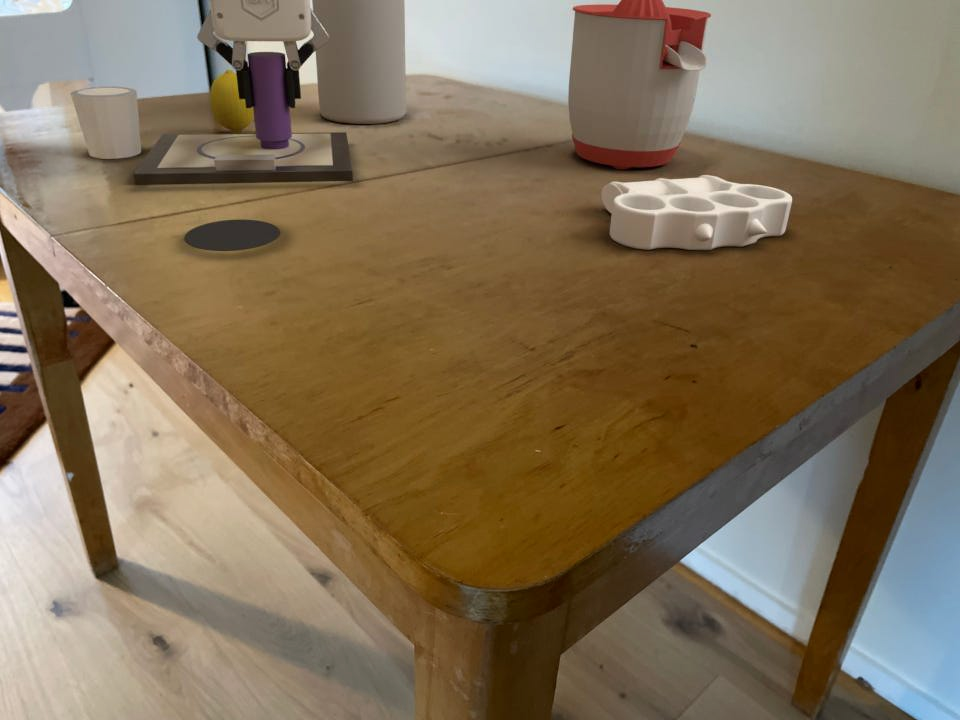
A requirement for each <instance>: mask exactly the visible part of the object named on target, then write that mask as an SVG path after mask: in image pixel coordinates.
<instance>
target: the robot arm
mask: <svg viewBox="0 0 960 720" xmlns="http://www.w3.org/2000/svg"><path fill="white" fill-rule="evenodd" d="M209 4H210V9H209V12H208V13H207V15H206V18H205V20H204V21H203V24H202V25H201V27H200V29H199V31H198V32H197V37H196V38H197V40H198V41H199V42H200V43H202V44H203V45H205V46H206V47H208V48H209V49H211V50H213V51H214V52H216V53H218V55H220V56H221V58H223V60H225V61H226V62H227V63H228V64H229V65H230V66H232V68H233V69H234V70H235V73H236V75H237V84H238V93H239V99H245V103H246V108H251V107H253V99H252V90H251V81H250V71H249V64H248V60H247V59H246V56H247V44H248V42H283V47H284V51H285V55H286V57H287V61H286V71H285V73H286V85H287V97H288V107H289V108H290V109H295V108H296V100H301V99H302V93H301V79H300V69H301V67H302V66H303V65H304V64H305V63H306V61H307V60H308V59H310V57H311V56H312V55H313V54H314V53H316V50H318V49H319V48H321V47H322V46H324V45H325V44H326V43H328V42H329V40H330V39H329V35H328V33H327V32H326V30H325V29H324V27H323V26H322V24H321V23H320V21H319V20H318V18H317V17H316V15H315V14H314V12H313V8H311V0H209ZM311 32H312V33H313V36H312V37H311V38H309V39H308V40H307V41H306V42H304V43H303V44H301V46H300V47H298V44H297V42H300V41H304V40H305V39H307V38H308V37H310V34H311ZM224 40H225V41H224ZM226 41H230V42H233V43H232V46H231V45H230V44H229V43H227V42H226Z"/></svg>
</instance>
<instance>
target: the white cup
mask: <svg viewBox="0 0 960 720" xmlns="http://www.w3.org/2000/svg"><path fill="white" fill-rule="evenodd" d="M70 96H71V100H72V103H73V106H74V110H75V113H76V116H77V120H78V123H79V126H80V129H81V132H82V136H83V139H84V142H85V146H86V149H87V152H88V155H89V156H90V157H91V158H95V159H103V160H118V159H126V158H132V157H135V156H138V155H139V154H141V153H142V142H141V132H140V131H141V129H140V117H139V105H138V104H139V103H138V92H137V90H136V89H134V88H131V87H130V88H129V87H123V86H94V87H85V88H79V89H75V90H73V91H71V92H70Z"/></svg>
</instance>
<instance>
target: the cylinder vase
mask: <svg viewBox="0 0 960 720" xmlns="http://www.w3.org/2000/svg"><path fill="white" fill-rule="evenodd" d="M311 3H312V4H311V5H312V11H313V12H314V14H315V15H316V17H317V18H318V20H319V21H320V23H321V24H322V26H323V27H324V29H325V30H326V32H327V33H328V35H329V39H330V40H329V42H328V43H326V44H325V45H324V46H322V47H321V48H319V49H318V50H316V51H315V65H316V77H317V93H318V109H319V113H320V115H321V116H322V117H323V118H324V119H326V120H328V121H332V122H335V123H341V124H350V125H378V124H379V125H380V124H385V123H391V122H392V123H393V122H396V121H398V120H401V119H402V118H404V117H405V115H406V113H407V85H406V84H407V83H406V82H407V81H406V80H407V79H406V78H407V77H406V76H407V75H406V26H405V25H406V17H405V16H406V12H405V11H406V9H405V7H406V6H405V0H311Z"/></svg>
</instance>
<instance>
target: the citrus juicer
mask: <svg viewBox="0 0 960 720" xmlns="http://www.w3.org/2000/svg"><path fill="white" fill-rule="evenodd" d="M572 11H574V16H573V17H574V19H573V31H572V41H571V42H572V43H571V55H570V66H569V77H568V100H567V104H568V114H569V124H570V129H571V137H572V141H573V145H574V148H575V151H576V154H577V155H578V156H579V157H580V158H582V159H584V160H586V161H589V162H592V163H596V164H601V165H606V166H611V167H612V168H613V169H616V170H629V169H631V168H651V167H659V166H663V165H666V164H668V163H670V162H671V161H672V159H673V157H674V156H675V155H676V153H677V151H678V149H679V147H680V144H681V141H682V138H683V136H684V134H685V131H686V130H687V128H688V124H689V121H690V118H691V115H692V112H693V109H694V104H695V100H696V95H697V90H698V84H699V79H700V71H702V70H704V69H705V68H706V66H707V57H706V54H705V53H704V46H705V40H706V34H707V28H708V21H709V19H710V18H711V17H712V14H711V13H710V12H706V11H703V10H697V9H690V8H680V7H669V6H666V4H665V3H664V1H663V0H620V1H619V2H618V4H606V3H605V4H581V5H575V6H573V7H572Z"/></svg>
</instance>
